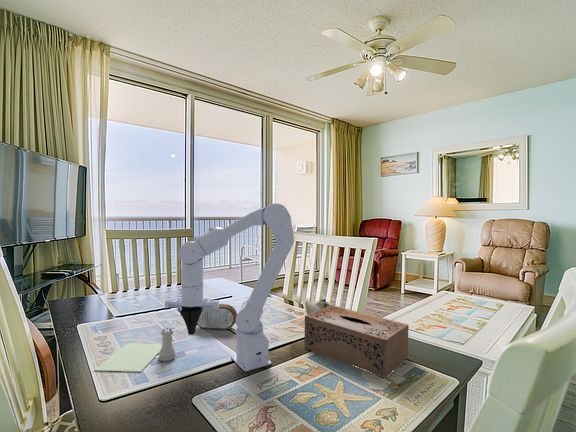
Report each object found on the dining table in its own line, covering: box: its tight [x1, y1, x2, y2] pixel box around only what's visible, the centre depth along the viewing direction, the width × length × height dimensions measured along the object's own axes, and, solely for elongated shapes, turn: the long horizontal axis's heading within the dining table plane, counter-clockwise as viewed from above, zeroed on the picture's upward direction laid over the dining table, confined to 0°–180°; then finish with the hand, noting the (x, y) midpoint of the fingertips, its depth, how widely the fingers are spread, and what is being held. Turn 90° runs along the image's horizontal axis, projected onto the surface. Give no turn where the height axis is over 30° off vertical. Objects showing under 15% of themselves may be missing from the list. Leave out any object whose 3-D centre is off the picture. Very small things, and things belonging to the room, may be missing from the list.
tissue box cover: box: [303, 305, 409, 379], centre depth 94 cm, size 26×14×10 cm, turn 49°
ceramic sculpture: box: [304, 298, 336, 315], centre depth 119 cm, size 11×9×15 cm
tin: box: [197, 303, 238, 331], centre depth 111 cm, size 15×3×8 cm, turn 84°
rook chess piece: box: [158, 327, 176, 362], centre depth 89 cm, size 4×4×8 cm
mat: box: [93, 342, 162, 373], centre depth 90 cm, size 12×16×1 cm
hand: (191, 333), depth 89 cm, fingers closed
